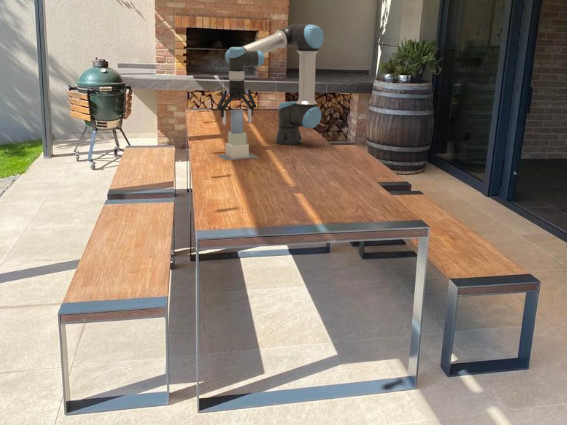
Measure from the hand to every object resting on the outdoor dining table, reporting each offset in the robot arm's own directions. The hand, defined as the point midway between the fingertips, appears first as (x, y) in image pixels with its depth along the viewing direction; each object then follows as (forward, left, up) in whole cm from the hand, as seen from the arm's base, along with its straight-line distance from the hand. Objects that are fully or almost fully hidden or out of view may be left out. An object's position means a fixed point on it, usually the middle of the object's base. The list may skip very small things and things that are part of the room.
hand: (236, 123), depth 320 cm
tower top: (0, 0, -11) cm, 11 cm away
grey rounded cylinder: (0, 0, -5) cm, 5 cm away
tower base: (0, 0, -17) cm, 17 cm away
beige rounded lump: (-10, -19, -18) cm, 28 cm away
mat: (0, 0, -18) cm, 18 cm away
